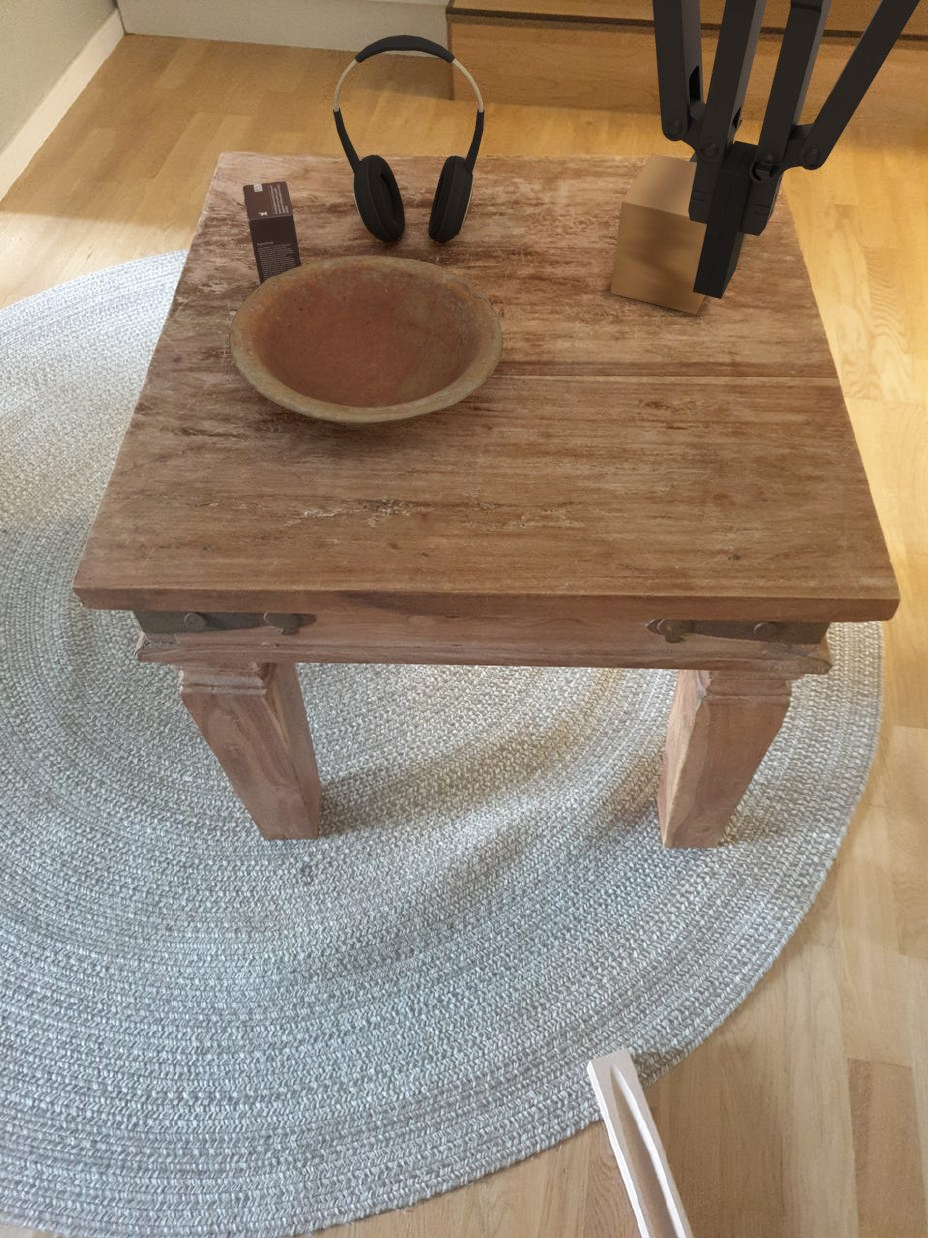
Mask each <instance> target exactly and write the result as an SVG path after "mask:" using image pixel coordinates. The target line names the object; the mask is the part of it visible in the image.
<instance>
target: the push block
mask: <svg viewBox="0 0 928 1238" xmlns="http://www.w3.org/2000/svg"><path fill="white" fill-rule="evenodd" d="M696 165H697V163H695V162H690V161H689V160H686V159H681V158H675V157H671V156H666V155H663V154H657V153H651V154H650V155H649V157H648V159H647V161H646V162H645V164H644V165H643V167H642V169H641V170H640V171H639V173H638V175H637V177H636V178H635V180H634V181H633V183H632V184H631V186H630V188H629V189H628V191H627V192H626V194H625V196H624V197H623V198H622V200H621V204H620V205H621V207H620V213H619V222H618V230H617V237H616V244H615V253H614V260H613V261H614V262H613V269H612V274H611V275H612V276H611V282H610V283H611V284H610V291H609V293H610V294H612V295H617V296H620V297H626V298H628V299H633V300H637V301H640V302H644V303H649V304H652V305H657V306H659V307H664V308H667V309H668V308H669V309H671V310H675V311H679V312H683V313H688V314H692V315H695V316H696V315H697V313H698V312H699V309H700V307H701V305H702V304H703V301H704V299H705V297H706V295H703V294H699V293H695V292H693V288H694V283H695V278H696V273H697V269H698V264H699V259H700V255H701V250H702V245H703V240H704V236H705V231H706V226H707V224H703V223H699V222H695V221H690V217H689V212H688V207H689V202H690V197H691V192H692V186H693V181H694V176H695V171H696Z"/></svg>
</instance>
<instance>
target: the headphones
mask: <svg viewBox="0 0 928 1238" xmlns="http://www.w3.org/2000/svg"><path fill="white" fill-rule="evenodd" d="M414 51H415V52H420V53H421V52H422V53H425V54H428V55H432V56H435V57H437V58H440V59H441V60H444V61H446V62H447V63H448V64H452V65H453V66H454V67H456V68H457V70H458V71H460V72H461V73H462V75H463V76H464V77H465V78H466V80H467V81H468V83H469V85H470V86H471V88H472V90H473V92H474V94H475V97H476V100H477V110H476V115H475V116H476V117H475V125H474V132H473V136H472V140H471V143H470V146H469V148H468V151H467V154H466V156H465V157H462V156H460V155H456V154H455V155H450V156H447V158H446V160H445V161H444V164H443V166H442V169H441V172H440V173H439V178H438V180H437V186H436V187H435V192H434V197H433V201H432V206H431V210H430V215H429V221H428V232H427V233H428V236H429V238H430V239H431V240H432V241H433V242H434V243H437V244H442V245H443V244H447V243H449V242H450V241H452V240H453V239H455V238H456V237H457V236H460V234H461V232H462V230H463V228H464V225H465V224H466V223H465V222H466V220H467V217H468V213H469V211H470V207H471V204H472V203H471V202H472V198H473V193H474V187H475V184H474V183H475V174H474V170H475V169H474V168H475V165H476V161H477V158H478V155H479V151H480V147H481V143H482V139H483V135H484V127H485V113H486V112H485V111H486V110H485V109H484V102H483V97H482V94H481V92H480V89H479V86H478V85H477V83H476V81H475V79H474V78H473V76H472V75H471V73H470V72H469V70H467V68H466V67H464V65H462V63H460V61H458V60H457V59H456V56H455V55H454V54H452V52H450V51H449V50H448V49H447V48H445V47H444V46H442V45H441V44H439V43H436V42H434V41H432V40H430V39H428V38H426V37H422V36H417V35H410V34H400V35H399V34H397V35H391V36H387V37H386V36H385V37H383V38H380V39H377V40H376V41H373V42H372V43H369V44H368V45H366V46H365V47H364V48H363V49H362V50H360V52H358V53H357V54H356V55H355V56H354V59H353V60H352V61H351V62H350V64H349V65H348V66H347V67H346V68H345V70H344V71H343V73H342V74H341V76H340V77H339V80H338V82H337V85H336V87H335V92H334V96H333V109H332V114H333V118H334V123H335V127H336V128H335V129H336V132H337V135H338V137H339V140H340V143H341V146H342V148H343V151H344V154H345V156H346V158H347V161H348V163H349V166H350V168H351V170H352V172H353V176H352V183H351V184H352V194H353V199H354V203H355V206H356V211H357V213H358V216H359V218H360V220H361V223H362V224H363V227H364V228H365V230H366V231H367V232H368V233H369V234H370V235H372V236H373V237H374V238H376V239H377V240H378V241H380V242H382V243H383V244H391V243H394V242H397V241H399V239H401V238H402V237H403V235H404V232H405V230H406V215H405V208H404V202H403V197H402V195H401V190H400V188H399V185H398V182H397V179H396V176H395V174H394V172H393V171H392V168H391V167H390V164H389V163H388V162H387V161H386V159H385V158H383V157H382V156H381V155H378V154H370V155H367V156H364V157H363V158H361V159H360V158H359V156H358V153H357V152H356V149H355V147H354V145H353V144H352V141H351V139H350V137H349V134H348V131H347V129H346V126H345V123H344V118H343V113H342V109H341V107H340V104H339V103H340V102H339V100H340V95H341V90H342V87H343V85H344V83H345V81H346V79H347V78H348V75H349V74H350V73H351V72H352V70H353V69H355V67H356V66H358V64H360V63H363V62H364V61H365V60H368V59H369V58H371V57H373V56H376V55H379V54H383V53H386V52H414Z"/></svg>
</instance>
